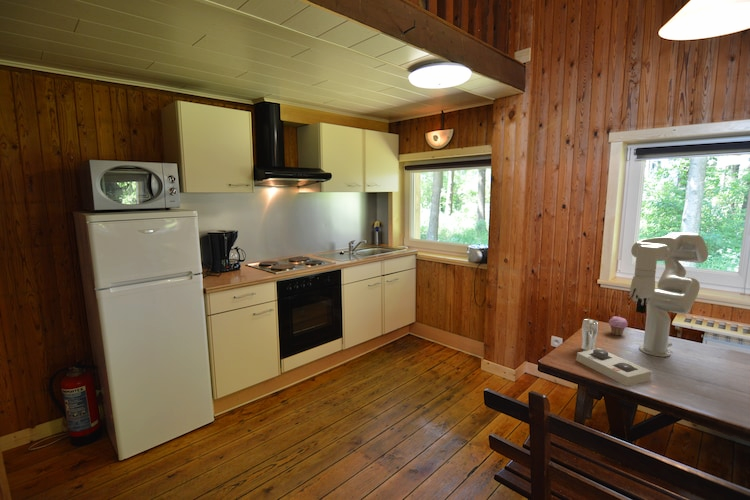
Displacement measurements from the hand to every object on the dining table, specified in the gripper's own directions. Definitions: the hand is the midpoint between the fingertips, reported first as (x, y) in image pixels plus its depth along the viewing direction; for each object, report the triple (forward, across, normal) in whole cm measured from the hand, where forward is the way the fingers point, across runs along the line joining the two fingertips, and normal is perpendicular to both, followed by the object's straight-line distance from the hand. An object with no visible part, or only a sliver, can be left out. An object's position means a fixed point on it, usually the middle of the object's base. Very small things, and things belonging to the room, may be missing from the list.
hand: (640, 312), depth 170 cm
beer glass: (+25, +6, -20) cm, 33 cm away
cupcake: (+25, -26, -29) cm, 46 cm away
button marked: (+23, +15, +6) cm, 29 cm away
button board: (+25, +15, 0) cm, 29 cm away
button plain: (+22, +15, -6) cm, 27 cm away
